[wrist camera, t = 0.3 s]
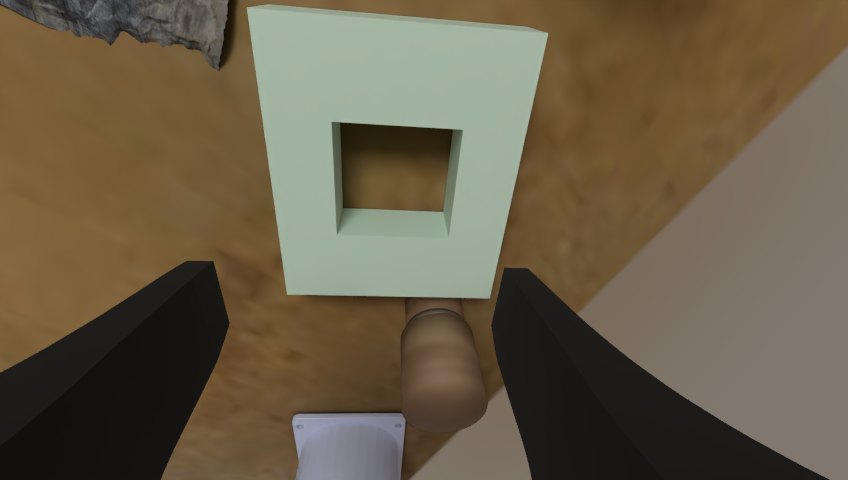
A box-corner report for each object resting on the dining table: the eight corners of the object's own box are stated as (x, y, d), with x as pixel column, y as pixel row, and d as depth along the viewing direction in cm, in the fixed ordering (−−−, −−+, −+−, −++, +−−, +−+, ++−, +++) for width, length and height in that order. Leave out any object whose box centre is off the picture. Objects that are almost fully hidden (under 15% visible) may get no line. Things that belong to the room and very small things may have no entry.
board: (480, 268, 22) (489, 298, 20) (297, 263, 21) (287, 294, 19) (527, 26, 16) (548, 33, 14) (267, 4, 15) (247, 7, 13)
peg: (459, 325, 24) (480, 432, 19) (398, 324, 24) (399, 433, 18) (468, 276, 22) (494, 380, 17) (401, 275, 22) (404, 380, 16)
